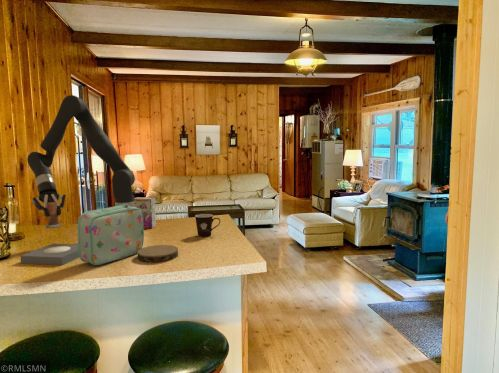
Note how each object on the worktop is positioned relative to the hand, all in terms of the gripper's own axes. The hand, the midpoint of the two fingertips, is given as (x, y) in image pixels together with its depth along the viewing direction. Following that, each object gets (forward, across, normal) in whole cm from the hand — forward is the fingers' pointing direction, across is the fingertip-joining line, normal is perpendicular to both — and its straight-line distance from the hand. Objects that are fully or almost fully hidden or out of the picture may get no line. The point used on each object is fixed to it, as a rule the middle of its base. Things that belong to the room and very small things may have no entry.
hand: (53, 215), depth 164 cm
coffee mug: (+29, +63, -7) cm, 70 cm away
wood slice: (+41, +30, -19) cm, 54 cm away
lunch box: (+34, +15, -12) cm, 39 cm away
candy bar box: (+1, +47, +21) cm, 51 cm away
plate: (+22, -2, -1) cm, 22 cm away
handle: (+3, 0, +5) cm, 6 cm away
